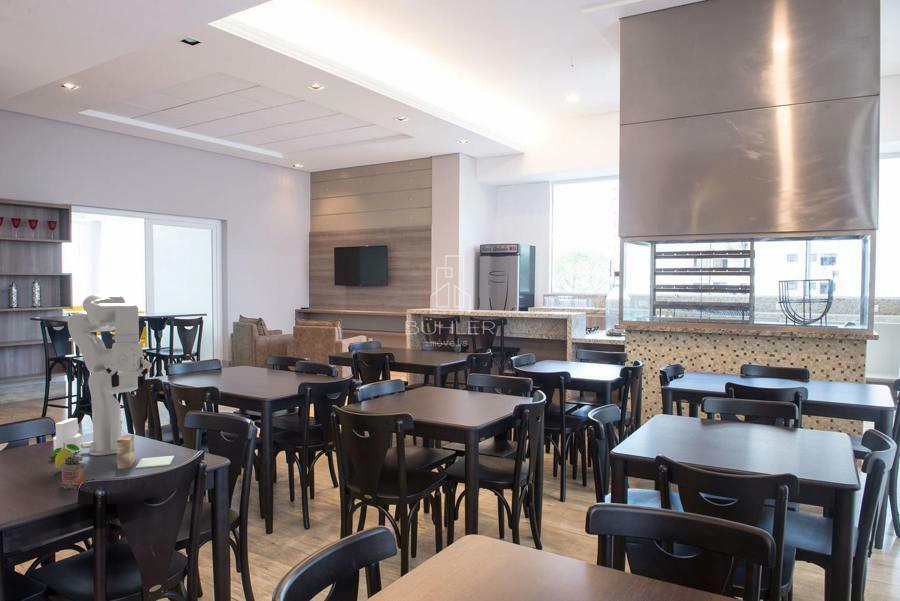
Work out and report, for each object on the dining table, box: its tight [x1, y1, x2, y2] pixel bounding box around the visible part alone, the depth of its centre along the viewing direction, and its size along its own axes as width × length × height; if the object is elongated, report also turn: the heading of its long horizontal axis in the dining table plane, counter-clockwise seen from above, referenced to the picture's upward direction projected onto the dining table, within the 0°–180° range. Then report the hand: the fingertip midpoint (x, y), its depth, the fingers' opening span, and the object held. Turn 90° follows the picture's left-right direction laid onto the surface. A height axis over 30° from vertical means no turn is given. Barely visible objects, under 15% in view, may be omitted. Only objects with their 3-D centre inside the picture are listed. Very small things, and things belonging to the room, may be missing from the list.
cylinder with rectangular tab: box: [52, 417, 82, 454], centre depth 231 cm, size 9×9×12 cm
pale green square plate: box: [135, 455, 175, 469], centre depth 216 cm, size 11×11×1 cm
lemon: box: [50, 442, 80, 470], centre depth 208 cm, size 7×6×10 cm
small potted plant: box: [61, 454, 86, 490], centre depth 191 cm, size 8×3×10 cm, turn 76°
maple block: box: [116, 434, 136, 469], centre depth 213 cm, size 4×7×10 cm, turn 17°
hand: (128, 386), depth 214 cm, fingers open, 9 cm apart
